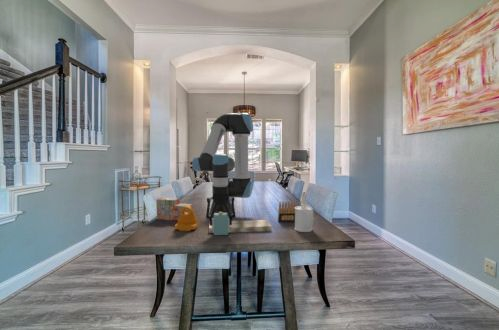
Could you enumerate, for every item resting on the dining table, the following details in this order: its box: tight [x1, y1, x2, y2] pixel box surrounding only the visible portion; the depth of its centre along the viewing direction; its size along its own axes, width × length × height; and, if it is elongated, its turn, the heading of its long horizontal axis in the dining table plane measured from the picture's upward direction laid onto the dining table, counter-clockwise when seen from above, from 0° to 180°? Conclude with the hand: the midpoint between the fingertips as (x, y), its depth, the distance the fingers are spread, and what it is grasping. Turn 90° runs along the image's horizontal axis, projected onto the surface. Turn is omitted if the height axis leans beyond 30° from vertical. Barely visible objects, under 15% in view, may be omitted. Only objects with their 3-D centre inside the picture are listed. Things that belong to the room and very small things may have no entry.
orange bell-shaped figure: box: [174, 205, 199, 232], centre depth 136 cm, size 11×7×12 cm, turn 90°
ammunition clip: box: [277, 201, 297, 223], centre depth 149 cm, size 11×2×12 cm, turn 95°
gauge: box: [213, 212, 229, 236], centre depth 133 cm, size 7×14×11 cm, turn 6°
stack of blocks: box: [155, 197, 194, 222], centre depth 155 cm, size 21×6×12 cm, turn 72°
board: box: [208, 219, 272, 234], centre depth 137 cm, size 32×12×2 cm, turn 96°
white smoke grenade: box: [293, 191, 314, 233], centre depth 134 cm, size 10×9×20 cm
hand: (220, 231), depth 128 cm, fingers closed on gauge, 7 cm apart
